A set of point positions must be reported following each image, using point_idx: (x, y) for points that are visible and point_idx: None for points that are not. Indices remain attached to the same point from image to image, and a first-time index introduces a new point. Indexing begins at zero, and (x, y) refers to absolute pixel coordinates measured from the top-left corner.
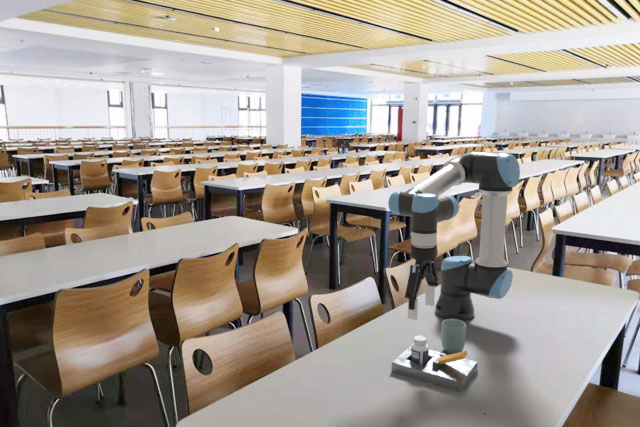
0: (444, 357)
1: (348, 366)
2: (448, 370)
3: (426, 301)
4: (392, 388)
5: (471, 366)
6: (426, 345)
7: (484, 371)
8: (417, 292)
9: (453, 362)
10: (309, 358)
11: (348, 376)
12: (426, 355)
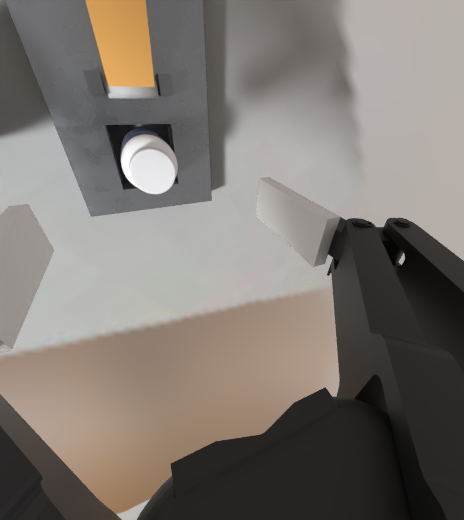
0: (123, 61)
1: (232, 256)
2: (153, 28)
3: (46, 255)
4: (261, 155)
5: None
6: (142, 145)
7: None
8: (365, 243)
9: (82, 29)
10: (241, 301)
11: (259, 236)
12: (151, 133)
